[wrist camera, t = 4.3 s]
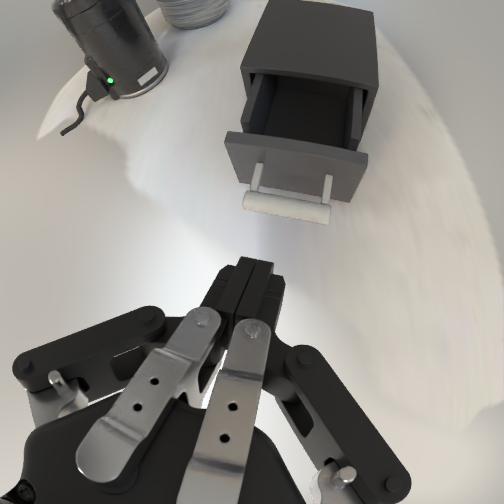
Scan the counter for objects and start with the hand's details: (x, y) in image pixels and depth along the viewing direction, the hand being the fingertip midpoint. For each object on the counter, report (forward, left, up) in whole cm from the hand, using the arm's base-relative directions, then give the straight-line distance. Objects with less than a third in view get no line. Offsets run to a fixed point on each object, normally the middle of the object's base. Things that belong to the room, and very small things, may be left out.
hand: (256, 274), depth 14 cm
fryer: (+13, +22, -15) cm, 30 cm away
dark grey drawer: (+7, +13, -14) cm, 21 cm away
